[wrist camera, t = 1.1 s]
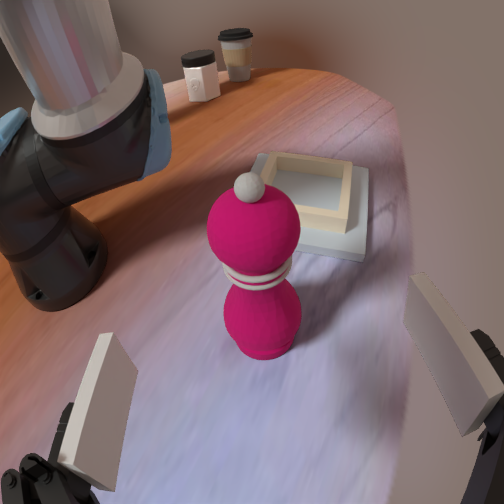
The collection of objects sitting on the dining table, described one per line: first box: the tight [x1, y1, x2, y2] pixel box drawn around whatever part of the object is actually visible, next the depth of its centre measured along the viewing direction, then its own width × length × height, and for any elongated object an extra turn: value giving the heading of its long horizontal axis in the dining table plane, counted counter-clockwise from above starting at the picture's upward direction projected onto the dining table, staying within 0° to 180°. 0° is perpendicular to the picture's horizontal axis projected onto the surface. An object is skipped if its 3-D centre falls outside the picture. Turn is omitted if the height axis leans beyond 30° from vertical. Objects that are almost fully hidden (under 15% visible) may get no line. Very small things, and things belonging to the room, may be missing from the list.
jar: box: [181, 50, 221, 102], centre depth 69 cm, size 9×8×12 cm
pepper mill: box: [207, 172, 302, 360], centre depth 25 cm, size 7×7×20 cm
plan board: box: [250, 151, 369, 263], centre depth 43 cm, size 18×18×4 cm
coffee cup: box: [218, 28, 253, 82], centre depth 74 cm, size 9×9×15 cm
